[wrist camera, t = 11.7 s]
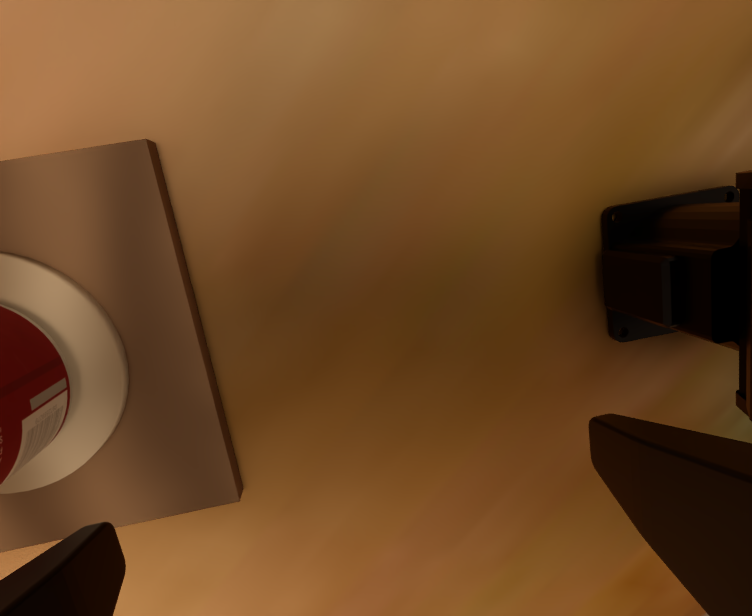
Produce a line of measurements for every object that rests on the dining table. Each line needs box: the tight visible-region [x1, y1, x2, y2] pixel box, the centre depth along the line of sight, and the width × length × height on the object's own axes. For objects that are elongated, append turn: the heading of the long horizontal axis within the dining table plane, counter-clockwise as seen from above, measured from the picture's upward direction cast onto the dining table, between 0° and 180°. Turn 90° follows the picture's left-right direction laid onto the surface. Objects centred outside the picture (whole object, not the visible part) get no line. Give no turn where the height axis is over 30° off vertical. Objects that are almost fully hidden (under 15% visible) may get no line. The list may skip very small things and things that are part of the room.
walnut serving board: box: [0, 139, 243, 552], centre depth 19 cm, size 16×16×2 cm
